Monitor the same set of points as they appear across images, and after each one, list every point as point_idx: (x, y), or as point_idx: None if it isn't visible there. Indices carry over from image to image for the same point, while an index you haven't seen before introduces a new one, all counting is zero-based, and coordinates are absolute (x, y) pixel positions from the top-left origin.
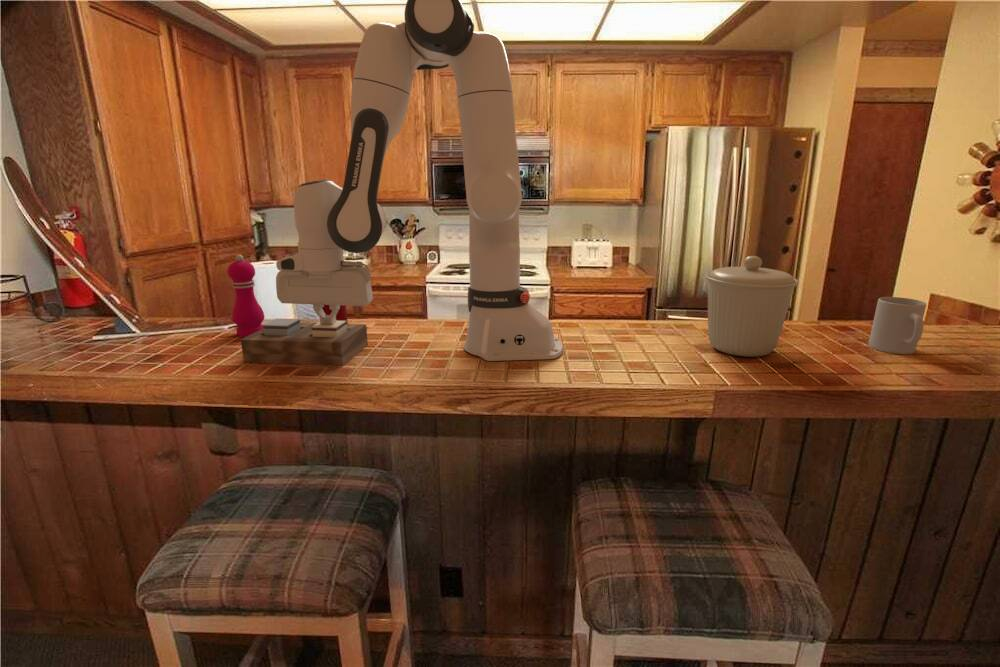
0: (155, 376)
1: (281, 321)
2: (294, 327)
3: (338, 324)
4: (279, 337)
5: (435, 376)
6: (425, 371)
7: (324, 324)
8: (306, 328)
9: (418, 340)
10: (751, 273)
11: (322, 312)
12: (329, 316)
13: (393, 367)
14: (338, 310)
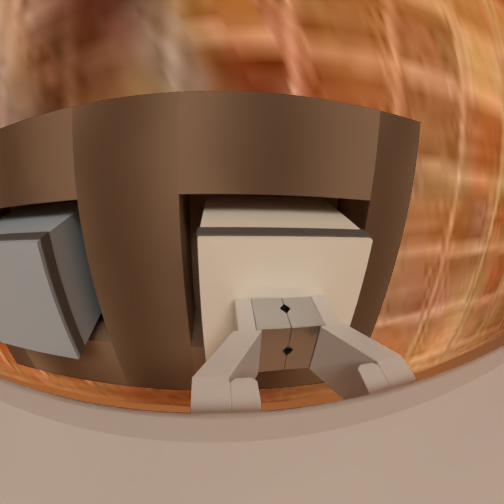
0: (2, 370)
1: (3, 292)
2: (68, 285)
3: (342, 319)
4: (91, 356)
5: (476, 327)
6: (472, 313)
7: None
8: (98, 226)
9: (482, 95)
10: None
11: (249, 367)
12: (304, 354)
13: (435, 309)
14: (378, 345)
